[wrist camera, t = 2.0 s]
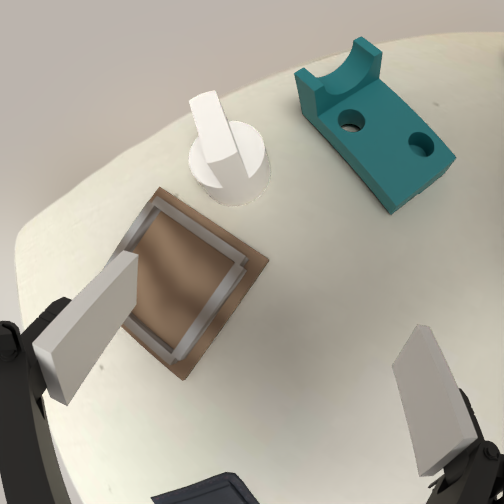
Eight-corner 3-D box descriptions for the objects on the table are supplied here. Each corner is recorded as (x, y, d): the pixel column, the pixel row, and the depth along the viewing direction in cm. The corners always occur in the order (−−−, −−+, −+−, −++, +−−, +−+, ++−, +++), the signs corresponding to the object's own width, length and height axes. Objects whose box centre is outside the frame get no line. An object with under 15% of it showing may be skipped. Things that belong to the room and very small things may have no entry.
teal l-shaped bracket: (303, 119, 42) (294, 73, 32) (359, 84, 41) (361, 36, 31) (388, 217, 37) (406, 189, 27) (444, 173, 36) (471, 137, 26)
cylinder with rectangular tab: (280, 192, 39) (269, 142, 28) (213, 216, 40) (178, 177, 29) (258, 136, 42) (241, 79, 30) (197, 159, 42) (162, 110, 31)
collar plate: (161, 188, 42) (153, 181, 40) (269, 260, 38) (266, 255, 35) (92, 294, 41) (80, 292, 38) (185, 379, 36) (176, 383, 34)
